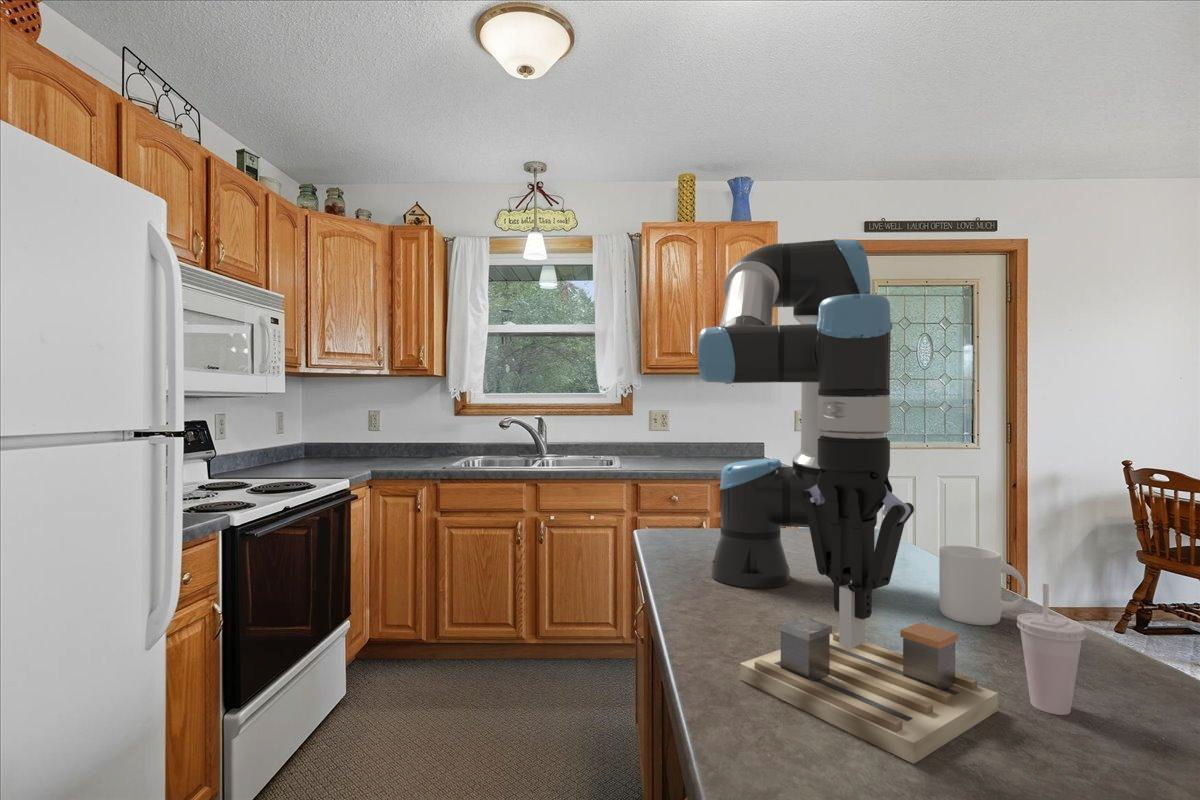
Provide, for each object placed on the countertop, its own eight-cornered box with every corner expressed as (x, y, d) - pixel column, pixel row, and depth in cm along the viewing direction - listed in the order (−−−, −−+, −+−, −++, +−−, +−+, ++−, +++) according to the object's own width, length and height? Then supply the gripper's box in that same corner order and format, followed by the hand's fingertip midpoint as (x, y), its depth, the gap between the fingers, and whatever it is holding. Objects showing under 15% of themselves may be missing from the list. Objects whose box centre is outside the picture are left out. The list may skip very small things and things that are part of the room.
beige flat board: (739, 679, 77) (739, 656, 77) (827, 647, 88) (827, 627, 88) (913, 763, 59) (913, 734, 59) (997, 710, 69) (997, 685, 69)
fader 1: (778, 670, 75) (778, 622, 75) (801, 662, 77) (801, 615, 77) (809, 684, 71) (809, 634, 71) (832, 675, 73) (832, 626, 74)
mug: (1033, 632, 93) (1033, 561, 93) (944, 622, 98) (944, 554, 98) (1017, 614, 102) (1017, 549, 102) (935, 605, 106) (935, 543, 106)
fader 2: (900, 679, 72) (900, 630, 72) (919, 670, 75) (919, 622, 75) (938, 694, 69) (938, 641, 69) (957, 683, 71) (958, 633, 71)
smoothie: (1003, 694, 73) (1003, 576, 73) (1053, 692, 74) (1053, 575, 74) (1046, 722, 67) (1046, 593, 67) (1101, 720, 68) (1101, 592, 68)
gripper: (783, 432, 72) (783, 632, 73) (890, 440, 61) (889, 674, 62) (823, 430, 76) (822, 618, 77) (929, 436, 66) (927, 655, 66)
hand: (852, 643), depth 69 cm, fingers closed
